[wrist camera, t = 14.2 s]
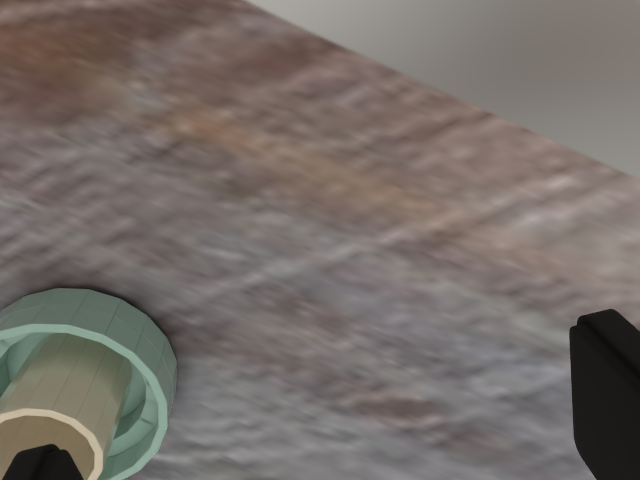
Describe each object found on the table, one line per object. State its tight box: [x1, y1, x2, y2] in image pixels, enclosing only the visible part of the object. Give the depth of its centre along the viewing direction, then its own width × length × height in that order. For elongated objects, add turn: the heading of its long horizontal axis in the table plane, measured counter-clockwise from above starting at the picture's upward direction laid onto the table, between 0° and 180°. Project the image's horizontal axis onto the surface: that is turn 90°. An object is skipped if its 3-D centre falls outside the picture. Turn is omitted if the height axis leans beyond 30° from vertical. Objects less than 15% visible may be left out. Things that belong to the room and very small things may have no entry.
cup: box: [0, 333, 132, 480], centre depth 36 cm, size 7×7×8 cm
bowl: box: [0, 288, 177, 480], centre depth 37 cm, size 13×13×5 cm
